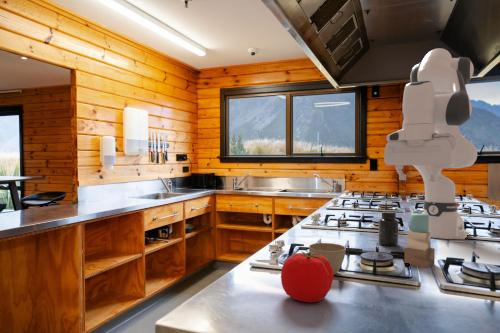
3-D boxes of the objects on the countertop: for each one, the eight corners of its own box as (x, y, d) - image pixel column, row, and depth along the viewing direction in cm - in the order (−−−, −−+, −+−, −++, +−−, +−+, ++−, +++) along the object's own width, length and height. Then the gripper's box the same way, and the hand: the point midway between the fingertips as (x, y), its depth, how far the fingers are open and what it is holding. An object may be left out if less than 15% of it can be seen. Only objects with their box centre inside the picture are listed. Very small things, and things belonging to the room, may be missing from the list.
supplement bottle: (400, 247, 126) (400, 213, 126) (380, 246, 127) (380, 213, 127) (396, 242, 133) (396, 211, 132) (377, 241, 134) (377, 210, 134)
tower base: (414, 260, 109) (414, 244, 109) (434, 265, 105) (434, 248, 104) (404, 263, 106) (404, 247, 106) (424, 268, 101) (424, 251, 101)
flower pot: (346, 269, 100) (347, 244, 100) (344, 280, 91) (344, 252, 90) (311, 265, 103) (311, 241, 103) (305, 276, 94) (306, 249, 94)
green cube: (415, 228, 109) (416, 212, 108) (431, 231, 104) (432, 214, 104) (406, 230, 106) (406, 214, 106) (422, 233, 102) (423, 216, 102)
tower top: (413, 244, 109) (413, 228, 109) (430, 247, 105) (430, 231, 105) (407, 247, 105) (407, 231, 105) (425, 250, 102) (425, 233, 102)
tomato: (297, 313, 71) (298, 262, 71) (271, 293, 82) (272, 249, 81) (345, 303, 76) (345, 256, 76) (315, 286, 86) (315, 244, 86)
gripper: (460, 133, 99) (459, 182, 100) (392, 136, 115) (391, 179, 115) (451, 132, 95) (450, 183, 96) (381, 136, 111) (381, 179, 111)
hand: (417, 180), depth 106 cm, fingers open, 8 cm apart
